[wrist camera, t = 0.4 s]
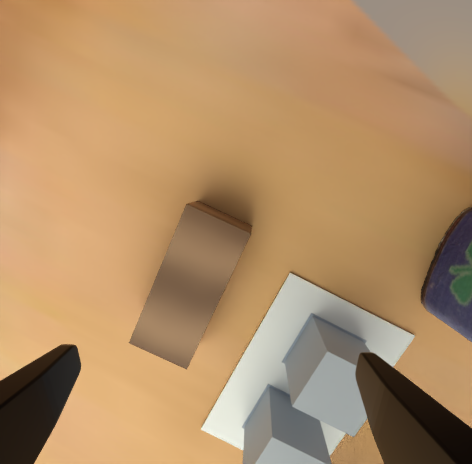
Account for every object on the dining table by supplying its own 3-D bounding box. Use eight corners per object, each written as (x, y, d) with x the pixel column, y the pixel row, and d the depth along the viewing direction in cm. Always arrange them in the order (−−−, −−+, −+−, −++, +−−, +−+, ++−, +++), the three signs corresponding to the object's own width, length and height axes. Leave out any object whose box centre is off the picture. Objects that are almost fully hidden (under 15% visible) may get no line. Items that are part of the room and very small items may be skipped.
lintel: (197, 340, 25) (186, 369, 21) (148, 318, 25) (128, 343, 21) (251, 225, 23) (251, 233, 19) (198, 200, 23) (186, 204, 19)
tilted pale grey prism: (333, 385, 24) (353, 437, 19) (284, 361, 24) (291, 406, 19) (363, 341, 23) (392, 383, 18) (312, 316, 23) (327, 351, 18)
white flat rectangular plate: (309, 481, 27) (310, 484, 26) (201, 427, 26) (200, 430, 26) (413, 334, 23) (415, 336, 23) (289, 272, 23) (290, 273, 23)
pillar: (290, 450, 26) (299, 512, 21) (244, 427, 26) (241, 484, 21) (317, 410, 25) (332, 466, 20) (269, 386, 25) (272, 437, 20)
